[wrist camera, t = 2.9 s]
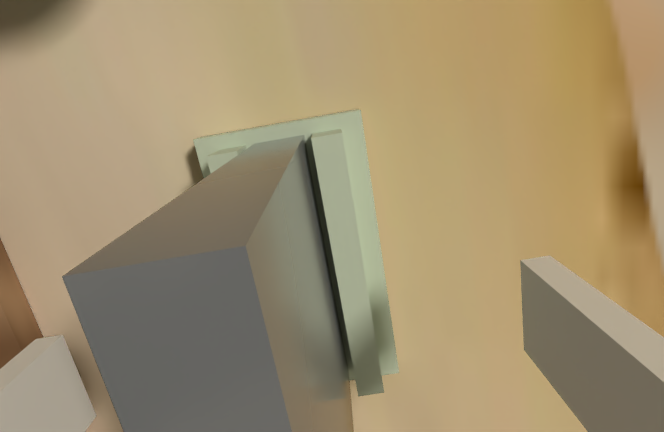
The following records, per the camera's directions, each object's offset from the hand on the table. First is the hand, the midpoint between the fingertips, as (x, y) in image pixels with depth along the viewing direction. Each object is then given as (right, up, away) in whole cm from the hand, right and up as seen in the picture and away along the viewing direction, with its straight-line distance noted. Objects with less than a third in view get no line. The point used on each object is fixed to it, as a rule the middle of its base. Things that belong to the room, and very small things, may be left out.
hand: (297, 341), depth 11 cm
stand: (0, +2, +6) cm, 6 cm away
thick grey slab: (0, +1, +5) cm, 5 cm away
